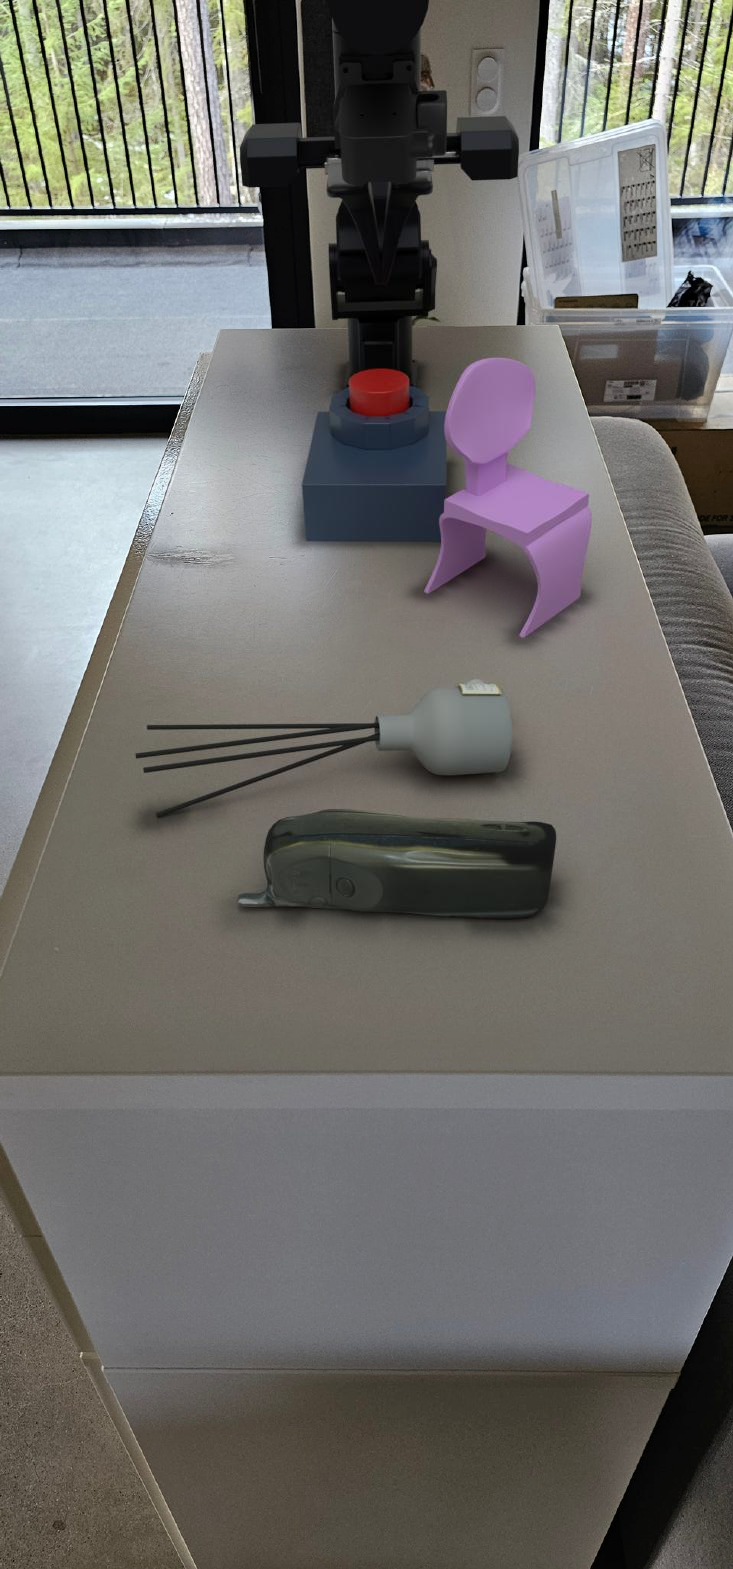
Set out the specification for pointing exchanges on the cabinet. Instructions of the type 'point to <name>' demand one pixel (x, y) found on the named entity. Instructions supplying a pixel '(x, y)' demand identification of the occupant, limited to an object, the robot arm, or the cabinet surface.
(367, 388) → the button
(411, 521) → the switch box
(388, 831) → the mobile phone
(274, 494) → the cabinet surface
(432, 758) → the reed diffuser
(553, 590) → the toy chair
